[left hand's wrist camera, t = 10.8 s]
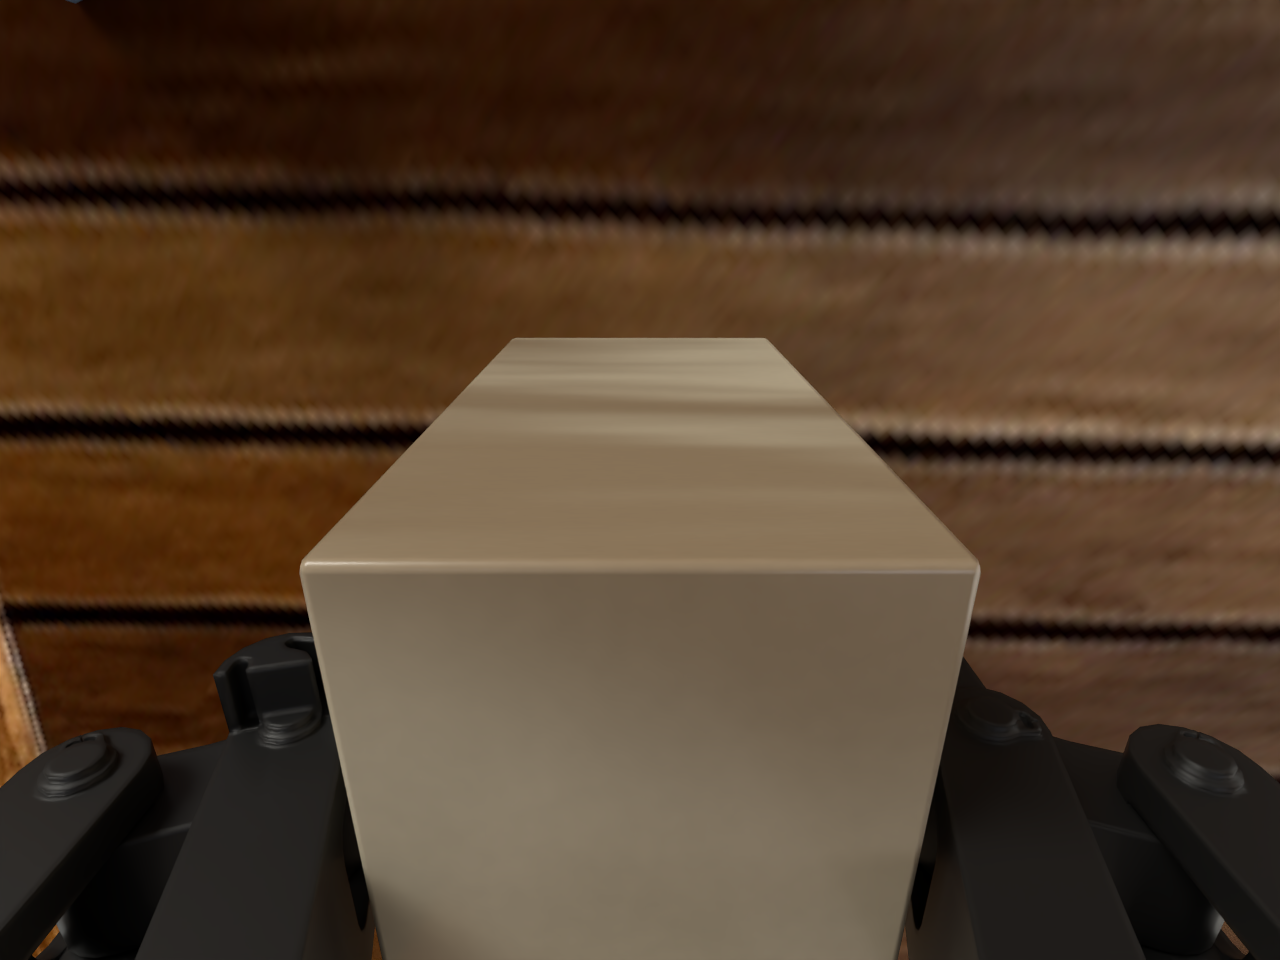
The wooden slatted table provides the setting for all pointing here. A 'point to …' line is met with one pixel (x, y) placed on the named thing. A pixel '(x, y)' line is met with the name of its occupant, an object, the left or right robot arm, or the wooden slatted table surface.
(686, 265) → the wooden slatted table surface
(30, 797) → the left robot arm
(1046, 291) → the wooden slatted table surface
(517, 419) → the ash bar
